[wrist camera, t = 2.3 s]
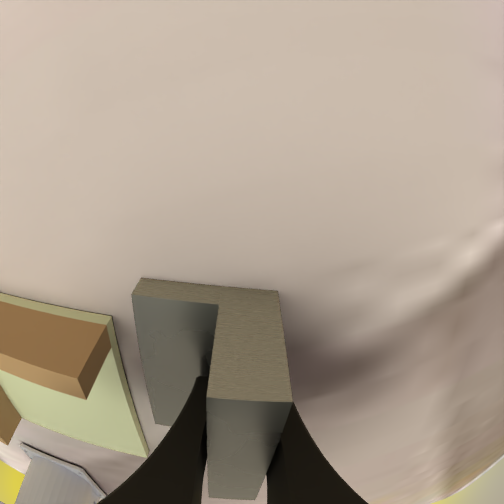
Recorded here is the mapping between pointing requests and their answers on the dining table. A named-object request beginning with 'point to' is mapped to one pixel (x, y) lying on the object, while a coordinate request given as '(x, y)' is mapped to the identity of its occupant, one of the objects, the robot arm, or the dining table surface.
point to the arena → (65, 376)
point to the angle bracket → (218, 372)
